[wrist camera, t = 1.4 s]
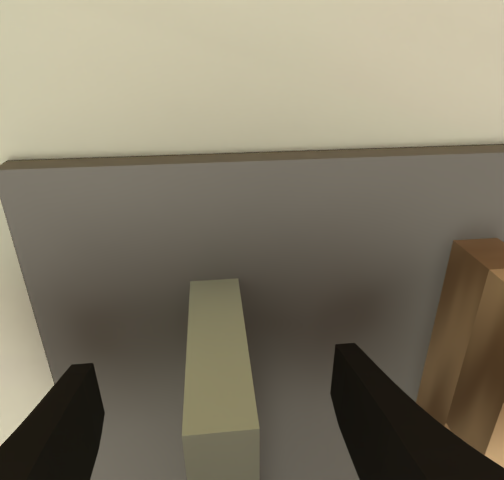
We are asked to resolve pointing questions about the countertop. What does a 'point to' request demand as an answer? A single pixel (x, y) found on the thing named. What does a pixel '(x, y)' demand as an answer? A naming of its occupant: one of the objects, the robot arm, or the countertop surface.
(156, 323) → the board
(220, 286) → the sage notched plate
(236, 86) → the countertop surface
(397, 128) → the countertop surface
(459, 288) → the oak slotted plate
